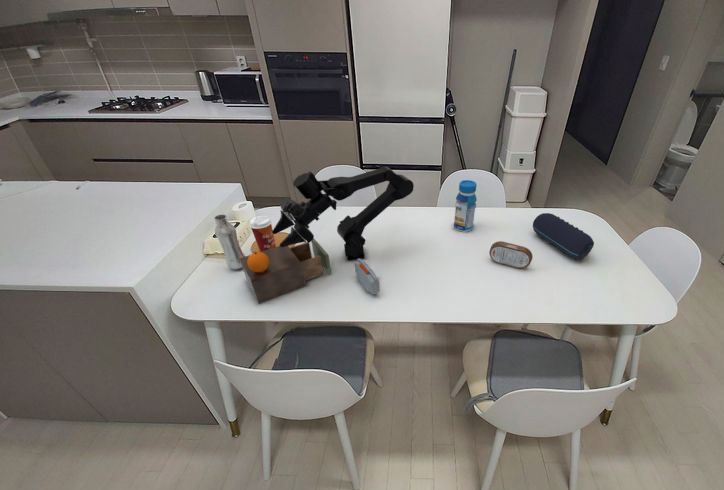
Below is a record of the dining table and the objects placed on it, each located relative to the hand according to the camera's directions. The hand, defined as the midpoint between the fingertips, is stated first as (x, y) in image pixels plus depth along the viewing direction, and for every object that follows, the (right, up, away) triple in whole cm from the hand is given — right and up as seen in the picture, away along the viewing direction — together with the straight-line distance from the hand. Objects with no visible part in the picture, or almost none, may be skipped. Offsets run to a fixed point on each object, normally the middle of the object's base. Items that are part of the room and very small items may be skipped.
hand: (276, 239), depth 112 cm
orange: (-4, -10, -4) cm, 11 cm away
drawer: (+6, -10, +11) cm, 16 cm away
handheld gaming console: (+28, -15, +6) cm, 33 cm away
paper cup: (-11, -3, +21) cm, 24 cm away
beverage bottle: (+66, +8, +37) cm, 76 cm away
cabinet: (-2, -14, +6) cm, 16 cm away
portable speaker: (+102, -1, +26) cm, 105 cm away
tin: (+79, -8, +16) cm, 81 cm away
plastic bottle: (-19, -9, +14) cm, 25 cm away
